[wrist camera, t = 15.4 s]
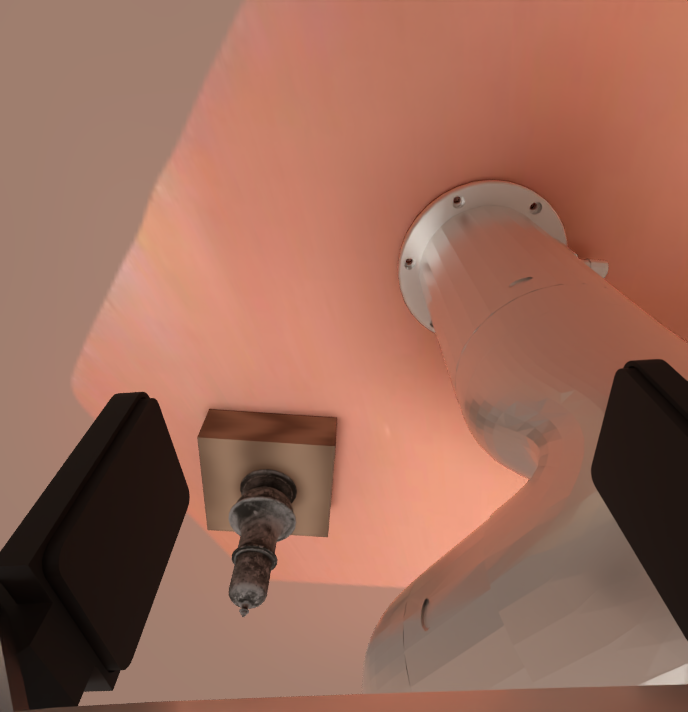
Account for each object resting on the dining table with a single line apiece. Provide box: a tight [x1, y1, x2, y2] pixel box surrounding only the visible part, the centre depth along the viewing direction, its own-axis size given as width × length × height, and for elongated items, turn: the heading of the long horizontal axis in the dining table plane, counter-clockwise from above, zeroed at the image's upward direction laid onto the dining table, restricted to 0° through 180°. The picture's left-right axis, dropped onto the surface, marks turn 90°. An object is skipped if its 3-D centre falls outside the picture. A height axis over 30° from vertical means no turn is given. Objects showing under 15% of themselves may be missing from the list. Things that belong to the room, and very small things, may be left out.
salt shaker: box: [229, 469, 297, 617], centre depth 39 cm, size 6×6×12 cm
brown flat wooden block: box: [197, 409, 337, 537], centre depth 46 cm, size 12×12×4 cm
